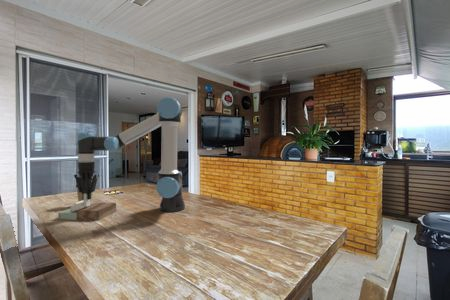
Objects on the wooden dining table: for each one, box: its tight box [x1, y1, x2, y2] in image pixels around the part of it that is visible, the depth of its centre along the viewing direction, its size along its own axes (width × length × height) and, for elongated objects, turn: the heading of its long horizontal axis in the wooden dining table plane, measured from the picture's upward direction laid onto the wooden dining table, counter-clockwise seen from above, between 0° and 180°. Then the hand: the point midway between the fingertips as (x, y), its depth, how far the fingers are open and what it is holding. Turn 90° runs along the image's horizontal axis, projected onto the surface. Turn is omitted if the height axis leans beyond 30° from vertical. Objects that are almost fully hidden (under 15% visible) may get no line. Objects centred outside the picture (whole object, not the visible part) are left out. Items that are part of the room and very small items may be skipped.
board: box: [76, 202, 117, 221], centre depth 127 cm, size 12×16×5 cm
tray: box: [57, 207, 77, 221], centre depth 128 cm, size 10×17×4 cm, turn 175°
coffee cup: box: [75, 181, 94, 205], centre depth 145 cm, size 10×10×15 cm
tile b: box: [69, 202, 89, 212], centre depth 123 cm, size 6×6×3 cm
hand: (86, 205), depth 123 cm, fingers closed
